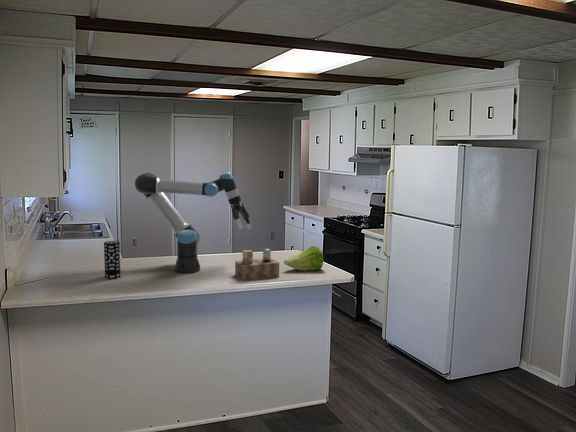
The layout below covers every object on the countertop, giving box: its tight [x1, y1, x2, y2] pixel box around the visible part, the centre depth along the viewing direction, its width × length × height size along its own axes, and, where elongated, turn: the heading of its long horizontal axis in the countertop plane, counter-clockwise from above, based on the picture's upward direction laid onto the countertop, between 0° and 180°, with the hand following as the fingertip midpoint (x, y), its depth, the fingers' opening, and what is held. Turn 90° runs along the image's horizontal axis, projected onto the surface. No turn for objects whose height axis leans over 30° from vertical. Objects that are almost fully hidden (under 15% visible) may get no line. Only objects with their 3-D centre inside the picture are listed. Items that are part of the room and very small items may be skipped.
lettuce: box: [283, 245, 324, 272], centre depth 325 cm, size 14×24×15 cm
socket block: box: [234, 258, 280, 281], centre depth 310 cm, size 22×13×8 cm, turn 117°
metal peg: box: [262, 248, 272, 262], centre depth 312 cm, size 4×4×8 cm
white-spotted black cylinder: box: [103, 240, 122, 280], centre depth 299 cm, size 8×8×20 cm
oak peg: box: [242, 249, 254, 264], centre depth 306 cm, size 4×4×8 cm
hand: (245, 228), depth 333 cm, fingers open, 13 cm apart
